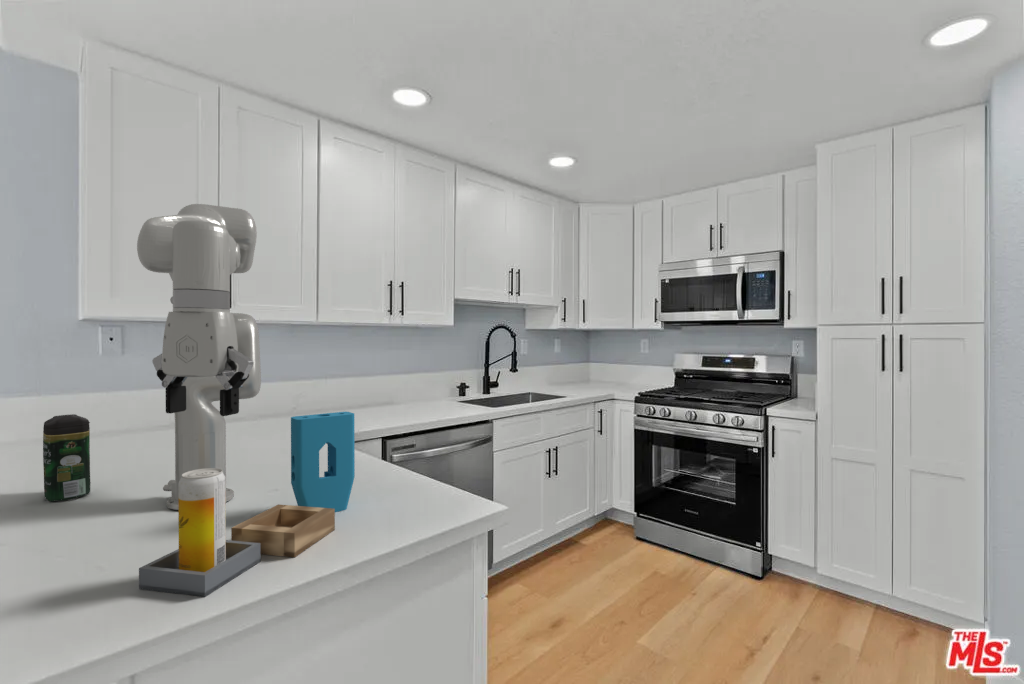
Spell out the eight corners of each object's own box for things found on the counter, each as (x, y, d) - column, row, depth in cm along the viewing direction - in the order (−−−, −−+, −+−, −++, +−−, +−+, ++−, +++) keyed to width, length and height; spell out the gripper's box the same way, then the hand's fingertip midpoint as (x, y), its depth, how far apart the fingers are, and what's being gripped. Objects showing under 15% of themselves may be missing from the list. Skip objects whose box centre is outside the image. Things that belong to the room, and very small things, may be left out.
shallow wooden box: (231, 551, 84) (231, 527, 84) (278, 525, 95) (278, 504, 95) (294, 557, 81) (294, 533, 81) (334, 529, 93) (334, 508, 93)
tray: (139, 588, 71) (138, 568, 71) (201, 555, 82) (201, 537, 82) (205, 596, 69) (204, 575, 69) (260, 561, 80) (260, 543, 80)
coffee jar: (41, 495, 113) (41, 415, 113) (87, 488, 119) (86, 411, 119) (45, 505, 107) (44, 419, 107) (93, 496, 113) (92, 415, 112)
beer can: (193, 562, 78) (192, 467, 78) (233, 560, 79) (232, 467, 79) (169, 581, 72) (169, 478, 72) (213, 579, 73) (212, 477, 72)
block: (297, 520, 98) (297, 419, 98) (289, 514, 101) (289, 416, 101) (356, 507, 105) (355, 413, 105) (347, 501, 109) (346, 411, 109)
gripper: (132, 302, 75) (133, 415, 75) (232, 301, 71) (232, 420, 71) (175, 304, 82) (176, 407, 82) (267, 304, 78) (268, 411, 79)
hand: (202, 413), depth 77 cm, fingers open, 9 cm apart
